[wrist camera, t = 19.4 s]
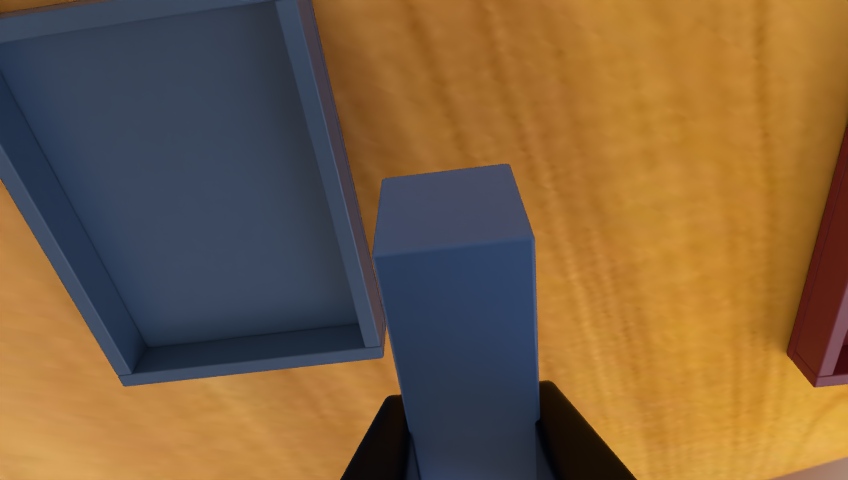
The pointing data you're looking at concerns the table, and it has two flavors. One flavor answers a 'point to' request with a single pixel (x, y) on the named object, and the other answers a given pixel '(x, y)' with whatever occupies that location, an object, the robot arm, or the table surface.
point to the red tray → (826, 293)
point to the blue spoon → (462, 319)
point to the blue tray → (189, 183)
